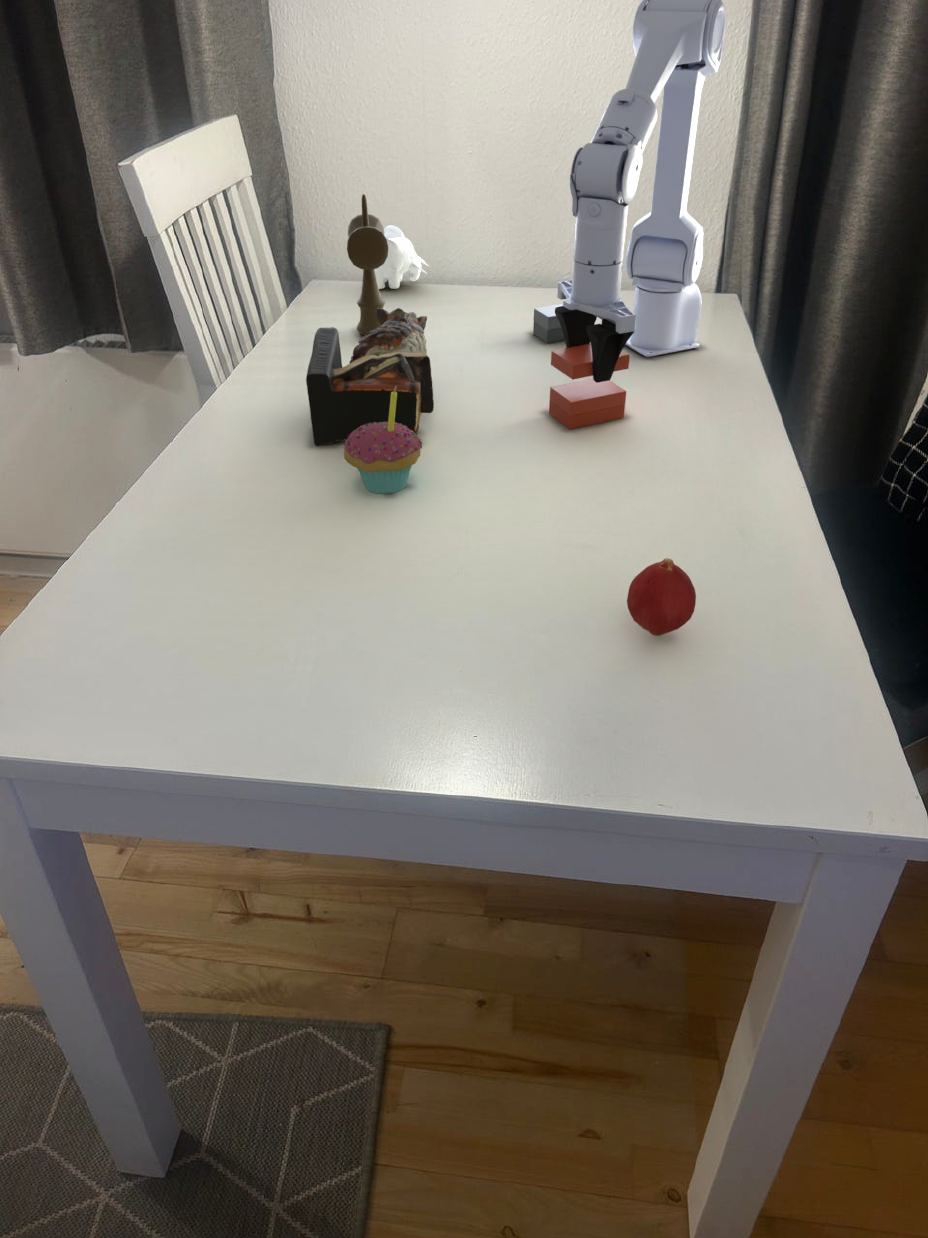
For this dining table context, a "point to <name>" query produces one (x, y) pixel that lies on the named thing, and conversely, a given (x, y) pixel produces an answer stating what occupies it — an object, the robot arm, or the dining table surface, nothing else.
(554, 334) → the dark grey rectangular block
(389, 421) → the cupcake
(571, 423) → the red rectangular block
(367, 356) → the bookend
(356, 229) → the kendama
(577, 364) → the flat red block
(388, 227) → the elephant figurine
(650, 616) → the onion
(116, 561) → the dining table surface
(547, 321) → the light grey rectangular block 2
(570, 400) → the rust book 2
